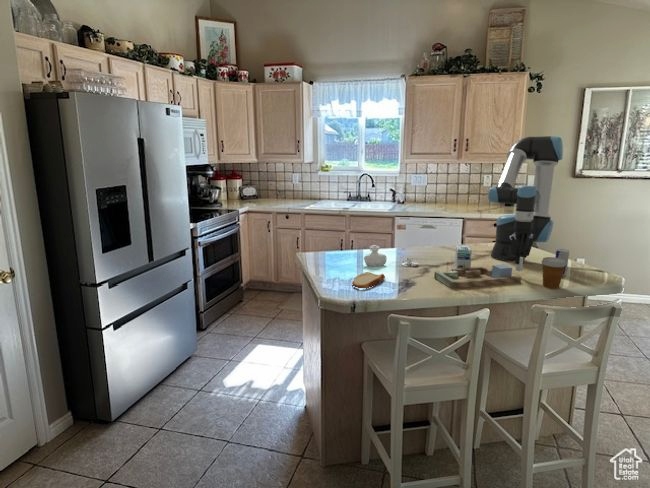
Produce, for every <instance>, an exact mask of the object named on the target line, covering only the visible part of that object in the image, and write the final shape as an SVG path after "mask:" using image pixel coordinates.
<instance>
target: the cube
mask: <svg viewBox="0 0 650 488" xmlns="http://www.w3.org/2000/svg"><path fill="white" fill-rule="evenodd" d="M491 267H492V268H491V269H492V276H491V278H499V277H510V276H513V275H512V273H513V267H512V266H509V265H506V264H505V263H504V264H503V263H502V264H501V263H500V264H493V265H492V266H491Z"/></svg>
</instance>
